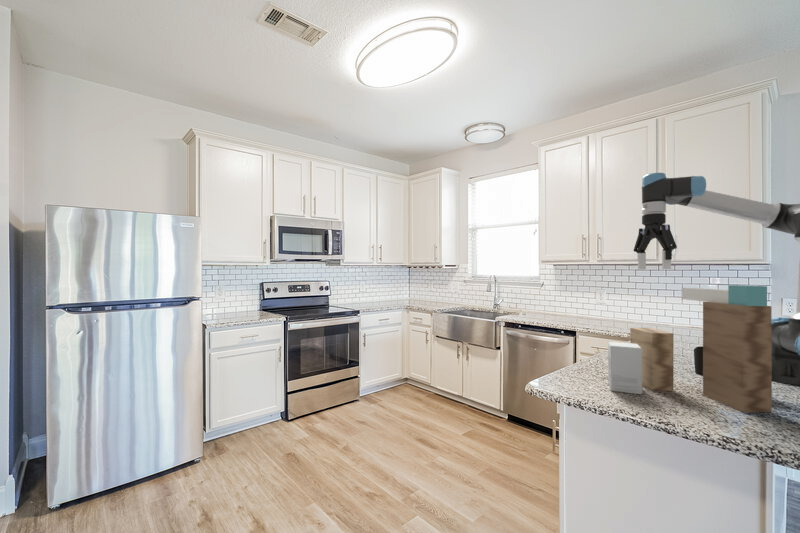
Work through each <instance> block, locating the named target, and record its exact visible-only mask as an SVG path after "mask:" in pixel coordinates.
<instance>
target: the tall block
mask: <svg viewBox="0 0 800 533" xmlns="http://www.w3.org/2000/svg"><path fill="white" fill-rule="evenodd" d="M771 318H772V306H771V305H767V306H743V305H734V304H726V303H716V302H706V301H702V347H703V375H702V396H703V397H707V398H709V399H711V400H713V401H716V402H719V403H721V404H723V405H725V406H728V407H730V408H732V409H735V410H737V411H739V412H742V413H772V412H773V411H772V409H773V403H772V401H773V400H772V399H773V398H772V396H773V395H772V394H773V392H772V391H773V390H772V383H773V382H772V334H771Z"/></svg>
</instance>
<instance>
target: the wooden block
mask: <svg viewBox="0 0 800 533" xmlns="http://www.w3.org/2000/svg"><path fill="white" fill-rule="evenodd" d="M629 335H630V337H629V338H630V342H629V343H633V344H638V345H639V346H640V347H641V348H642V387H644V388H646V389H648V390H651V391H664V392H665V391H668V392H669V391H670V392H672V391H674V333H673V332H669V331H666V330H665V331H664V330H660V329H655V328H652V327H630V334H629Z"/></svg>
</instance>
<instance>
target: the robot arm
mask: <svg viewBox="0 0 800 533" xmlns="http://www.w3.org/2000/svg"><path fill="white" fill-rule="evenodd" d="M641 180H642V185H641V208H642V209H641V214H642V216H641V225H643V226H644V228H642V227H641V228H638V236H637V237H636V238H637V239H636V241H635V244H634V248H633V252H635V253H636V254H637V270H647V253H646V250H647V248H648V246H649V244H650V242H651V241H653V239H656V240H657V242H658V243H659V245H660V246H661V247H662V252H661V253H662V255H661V257H662V258H661V260H662V261H661V263H662V264H661V268H662V270H672V258H673V257H672V255H673V251H674V250H676V249H678V248H677V247H678V246H677V244H676V241H675V239H674V236H673V234H672V231H671V225H670V224H666V220H667V219H666V217H667V216H666V214H665V213H667V205H669V206H670V205H679V206H682V207H687V208H693V209H696V210H701V211H706V212H711V213H713V214H718V215H722V216H723V215H724V216H727V217H731V218H735V219H739V220H744V221H749V222H754V223H757V224H761V226H762V228H767V229H770V230H774V231H777V232H782V233H786V234H790V235H794V240H795V241H796V242H798V243H799V244H800V203H794V204H792V203H791V204H789V203H782V202H774V203H768V202H762V201H758V200H753V199H750V198H749V199H748V198H745V197H744V198H743V197H740V196H739V197H738V196H735V195H729V194H725V193H721V192H715V191H710V190H707V180H706V178H705V177H704V176H702V175H692V176H681V177H680V176H678V177H667V176H666V173H664V172H651V173H648V174H645V175H644V176H643V177H642V179H641ZM798 263H799V264H798V275H797V276H798V277H797V278H798V279H797V280H798V281H797V291H796V292H797V294H796V295H797V296H796V307H795V308H796V309H795V313H793V314H792V315H791V316H789V317H779V316H778V317H775V316H774V317H771V334H772V381H773V382H777V383H782V384H787V385H792V386H794V385H795V386H800V258H799V262H798Z"/></svg>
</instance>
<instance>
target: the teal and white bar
mask: <svg viewBox="0 0 800 533" xmlns="http://www.w3.org/2000/svg"><path fill="white" fill-rule="evenodd" d="M681 300H687V301H698V302H716V303H726V304H734V305H743V306H768V286H765V285H745V284H744V285H741V284H739V285H737V284H736V285H731V284H730V285H728V289H719V288H718V289H717V288H702V287H700V288H699V287H698V288H697V287H681Z"/></svg>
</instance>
